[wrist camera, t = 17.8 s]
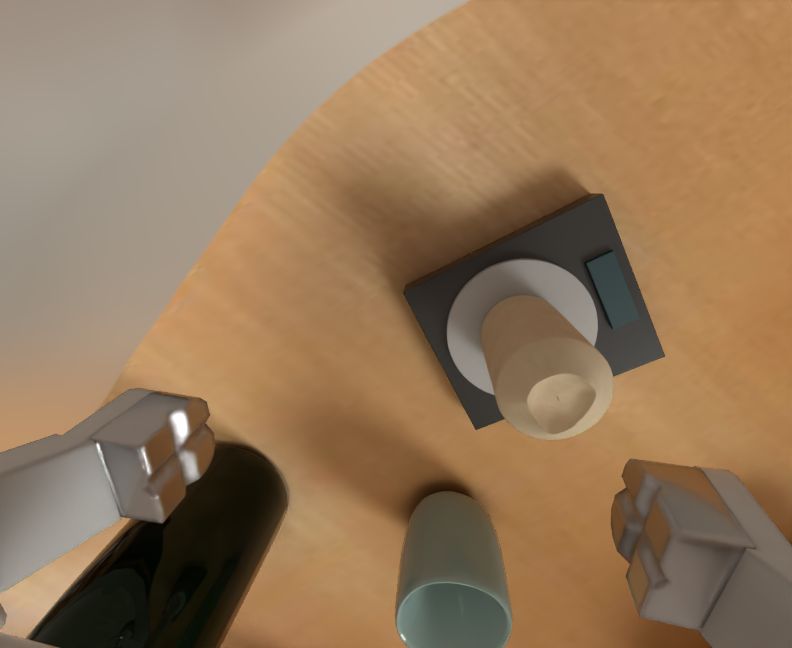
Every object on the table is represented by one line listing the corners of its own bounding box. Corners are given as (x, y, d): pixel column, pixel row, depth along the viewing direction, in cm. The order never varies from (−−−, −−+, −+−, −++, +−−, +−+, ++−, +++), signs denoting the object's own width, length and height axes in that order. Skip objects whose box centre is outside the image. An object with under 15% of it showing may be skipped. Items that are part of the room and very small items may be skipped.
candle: (542, 380, 29) (592, 473, 19) (467, 355, 29) (481, 435, 19) (577, 309, 27) (651, 372, 18) (497, 282, 27) (529, 331, 18)
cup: (396, 534, 38) (382, 648, 28) (418, 466, 35) (410, 566, 26) (478, 557, 38) (492, 679, 28) (506, 490, 35) (530, 599, 26)
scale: (405, 285, 31) (402, 294, 28) (590, 193, 27) (607, 193, 25) (473, 415, 33) (476, 434, 31) (649, 345, 30) (670, 360, 27)
